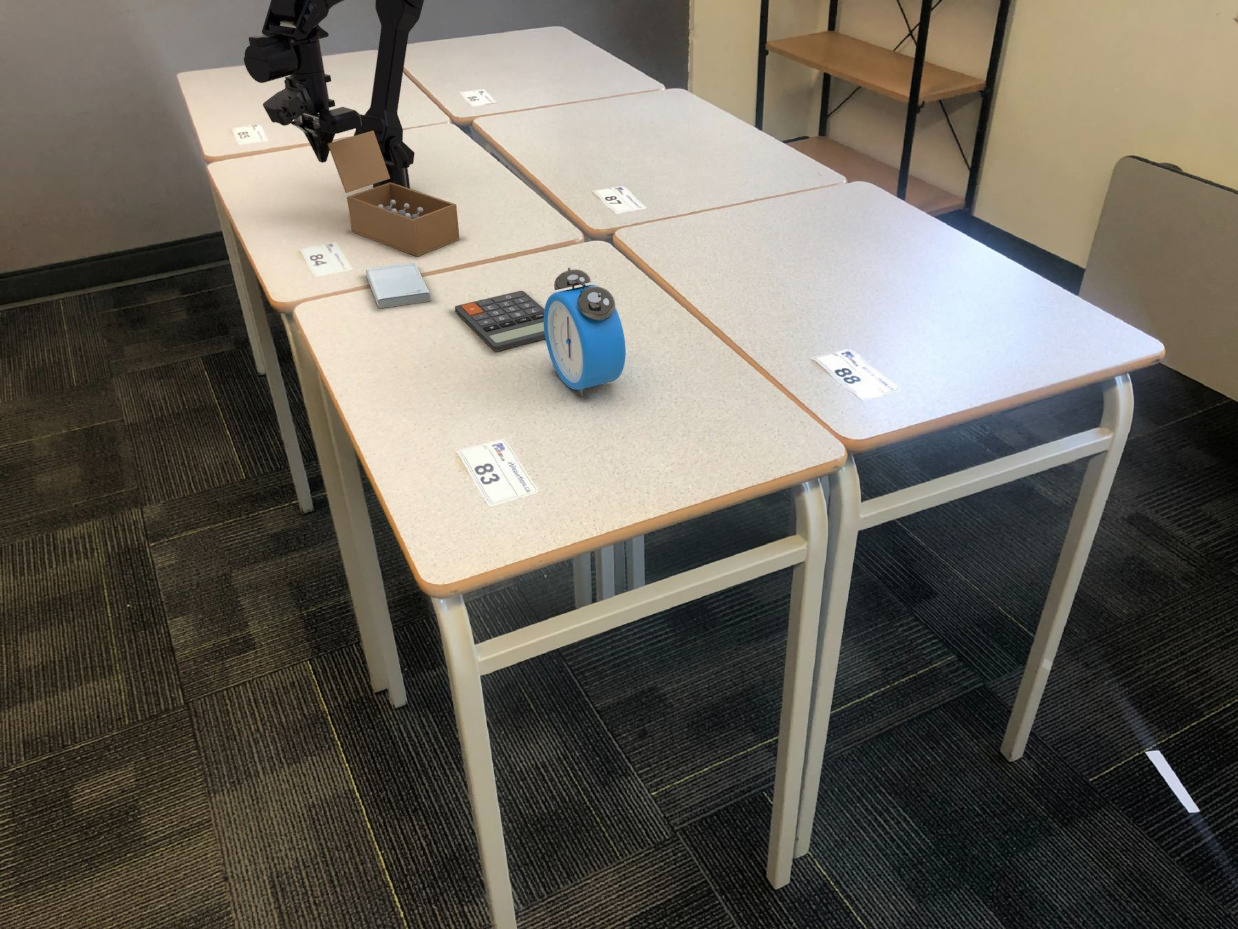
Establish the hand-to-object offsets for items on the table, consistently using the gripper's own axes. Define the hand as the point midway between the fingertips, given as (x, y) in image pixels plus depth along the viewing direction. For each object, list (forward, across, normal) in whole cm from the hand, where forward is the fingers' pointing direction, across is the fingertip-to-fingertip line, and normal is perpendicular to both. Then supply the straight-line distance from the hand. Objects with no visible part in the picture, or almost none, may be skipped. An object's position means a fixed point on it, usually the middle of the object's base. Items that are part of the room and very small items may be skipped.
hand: (322, 161), depth 170 cm
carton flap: (0, +6, +4) cm, 7 cm away
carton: (+11, +16, +4) cm, 19 cm away
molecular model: (+11, +16, +4) cm, 19 cm away
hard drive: (+11, +32, -12) cm, 35 cm away
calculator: (+11, +54, -8) cm, 55 cm away
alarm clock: (+11, +74, -14) cm, 76 cm away
